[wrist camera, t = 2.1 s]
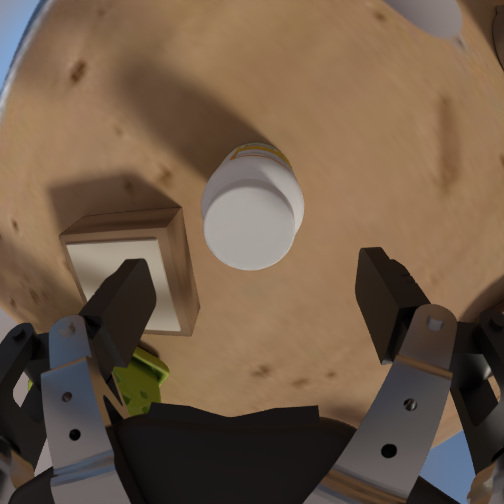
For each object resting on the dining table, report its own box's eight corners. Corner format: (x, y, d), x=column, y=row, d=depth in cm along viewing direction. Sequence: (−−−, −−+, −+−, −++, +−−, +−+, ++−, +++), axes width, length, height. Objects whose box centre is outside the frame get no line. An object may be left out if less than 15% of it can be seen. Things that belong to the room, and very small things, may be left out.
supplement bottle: (248, 224, 22) (236, 301, 14) (205, 169, 21) (162, 218, 12) (306, 186, 21) (334, 246, 12) (265, 127, 19) (264, 142, 10)
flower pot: (186, 358, 31) (160, 456, 20) (147, 399, 37) (125, 470, 25) (81, 295, 27) (23, 379, 16) (66, 352, 33) (30, 418, 22)
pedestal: (82, 216, 23) (56, 236, 19) (181, 207, 22) (164, 229, 18) (111, 304, 27) (95, 330, 24) (200, 307, 27) (190, 338, 23)
